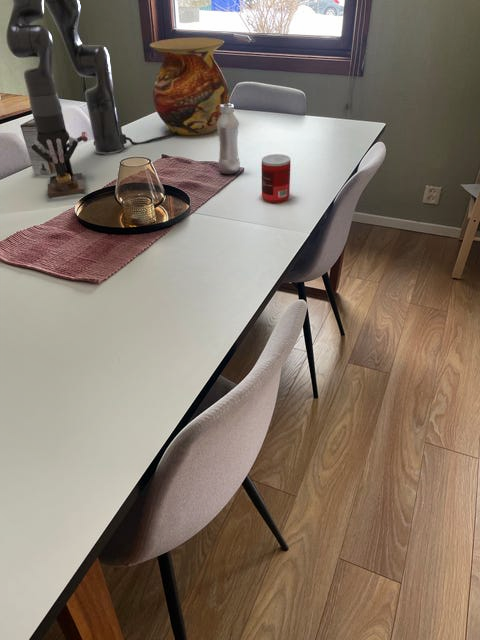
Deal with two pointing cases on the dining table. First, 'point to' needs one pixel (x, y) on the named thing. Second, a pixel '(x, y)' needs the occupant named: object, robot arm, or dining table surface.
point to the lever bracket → (67, 167)
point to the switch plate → (65, 188)
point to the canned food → (275, 178)
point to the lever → (80, 139)
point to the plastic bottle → (228, 140)
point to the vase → (189, 85)
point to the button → (63, 178)
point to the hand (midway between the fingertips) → (62, 175)
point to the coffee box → (37, 161)
